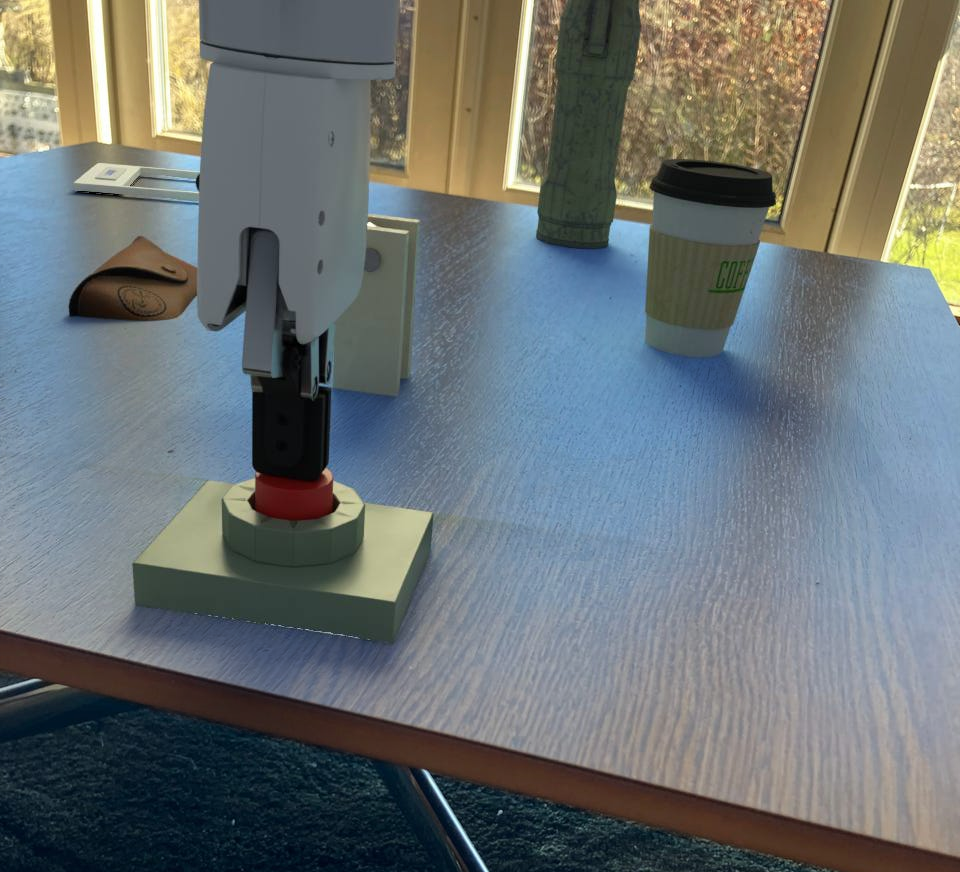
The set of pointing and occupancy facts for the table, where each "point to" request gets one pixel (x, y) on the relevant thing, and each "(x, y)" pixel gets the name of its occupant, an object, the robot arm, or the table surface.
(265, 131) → the robot arm
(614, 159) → the thermos
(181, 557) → the control block
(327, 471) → the button
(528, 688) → the table surface
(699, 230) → the coffee cup
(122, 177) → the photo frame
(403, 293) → the bracket
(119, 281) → the sunglasses case
